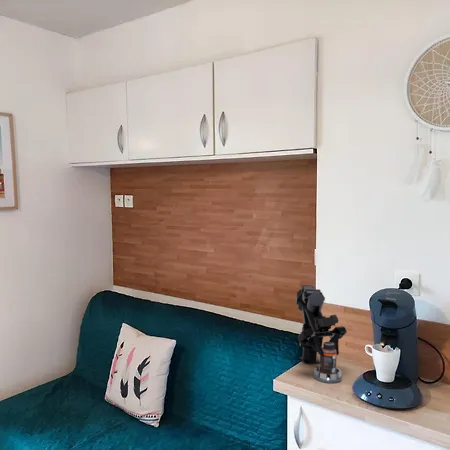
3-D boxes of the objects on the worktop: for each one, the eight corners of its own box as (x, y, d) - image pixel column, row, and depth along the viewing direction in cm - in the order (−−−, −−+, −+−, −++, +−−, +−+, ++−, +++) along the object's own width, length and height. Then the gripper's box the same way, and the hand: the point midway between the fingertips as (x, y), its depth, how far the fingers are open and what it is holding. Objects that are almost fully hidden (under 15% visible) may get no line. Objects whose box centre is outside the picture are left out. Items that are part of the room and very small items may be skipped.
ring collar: (309, 372, 173) (309, 365, 173) (334, 371, 175) (334, 363, 175) (320, 384, 163) (320, 376, 162) (347, 382, 165) (347, 374, 165)
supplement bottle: (338, 375, 166) (339, 345, 166) (322, 376, 165) (324, 346, 165) (331, 369, 172) (333, 340, 171) (316, 369, 171) (318, 340, 170)
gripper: (302, 309, 167) (317, 348, 158) (345, 305, 174) (362, 343, 164) (291, 323, 175) (305, 361, 166) (332, 320, 182) (348, 356, 172)
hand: (330, 355), depth 167 cm, fingers open, 6 cm apart
